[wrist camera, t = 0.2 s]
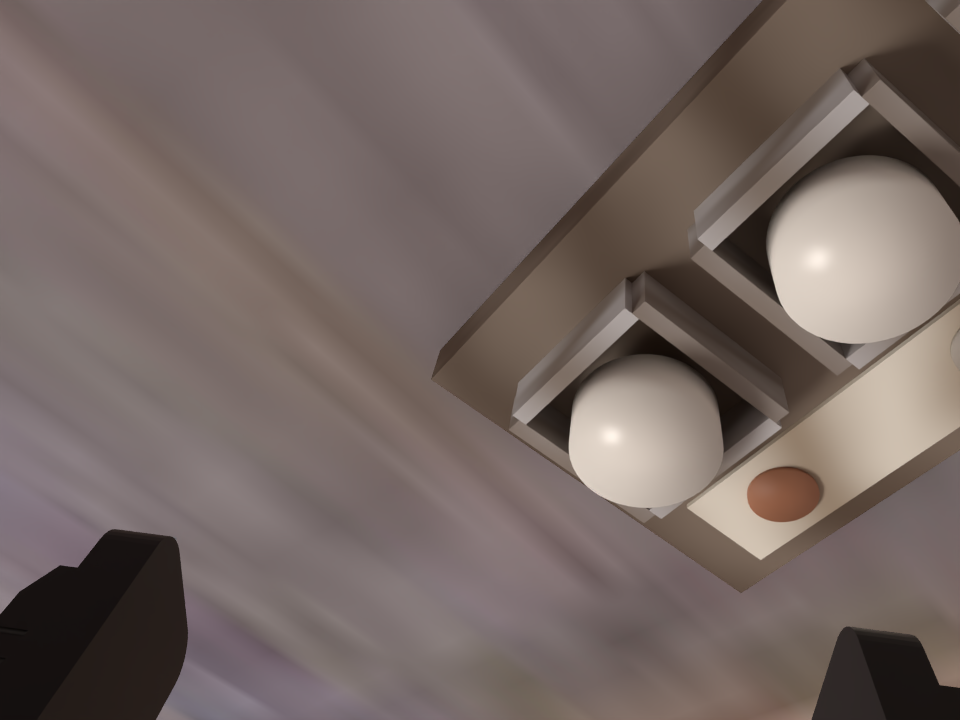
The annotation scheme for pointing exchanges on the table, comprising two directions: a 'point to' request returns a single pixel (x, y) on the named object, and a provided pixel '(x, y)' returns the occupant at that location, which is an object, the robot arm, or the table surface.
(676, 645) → the table surface
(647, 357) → the button
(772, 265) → the middle button
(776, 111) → the button board
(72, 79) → the table surface
